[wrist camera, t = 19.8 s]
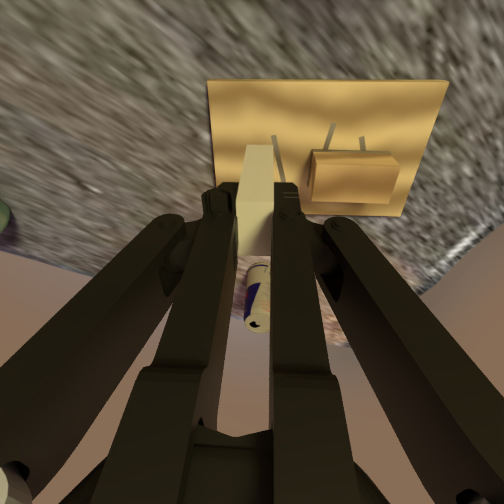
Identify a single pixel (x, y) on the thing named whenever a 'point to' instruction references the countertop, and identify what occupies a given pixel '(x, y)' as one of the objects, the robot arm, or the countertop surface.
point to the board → (323, 128)
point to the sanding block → (352, 176)
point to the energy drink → (258, 298)
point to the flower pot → (4, 216)
